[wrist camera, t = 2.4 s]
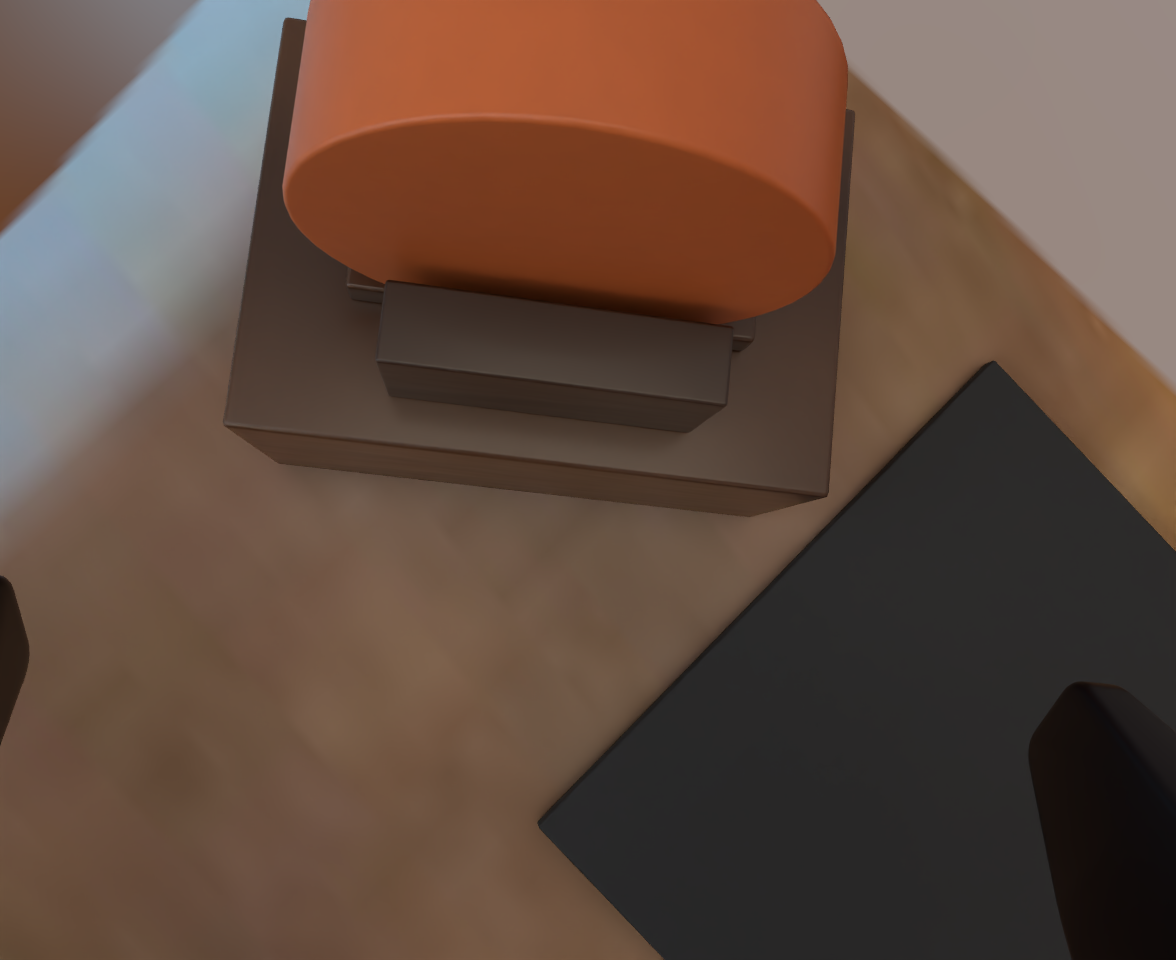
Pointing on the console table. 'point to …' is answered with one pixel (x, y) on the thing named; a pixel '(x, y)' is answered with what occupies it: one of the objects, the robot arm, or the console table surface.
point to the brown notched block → (525, 375)
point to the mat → (887, 713)
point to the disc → (575, 149)
